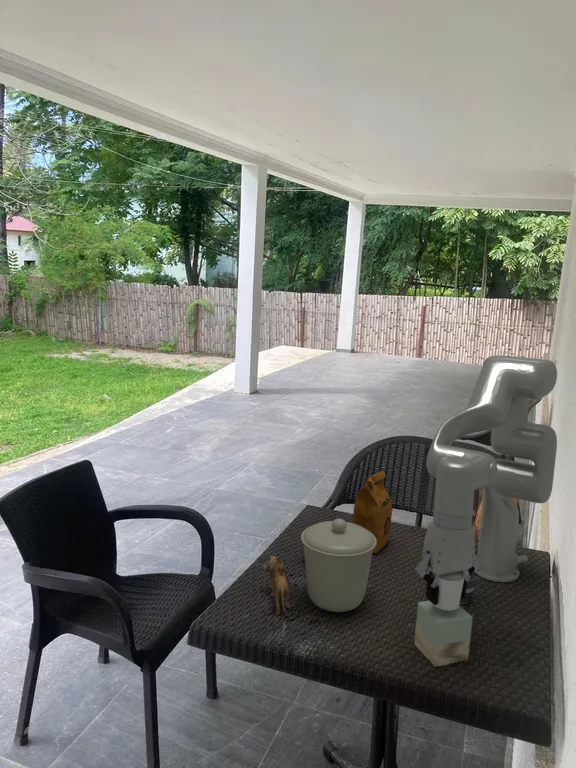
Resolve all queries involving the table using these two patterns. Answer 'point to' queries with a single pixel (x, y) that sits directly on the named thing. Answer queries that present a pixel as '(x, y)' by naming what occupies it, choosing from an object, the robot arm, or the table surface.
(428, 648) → the tower base
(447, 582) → the shot glass
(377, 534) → the coffee package
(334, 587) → the canister
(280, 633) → the table surface
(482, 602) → the table surface
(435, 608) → the tower top
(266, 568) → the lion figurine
